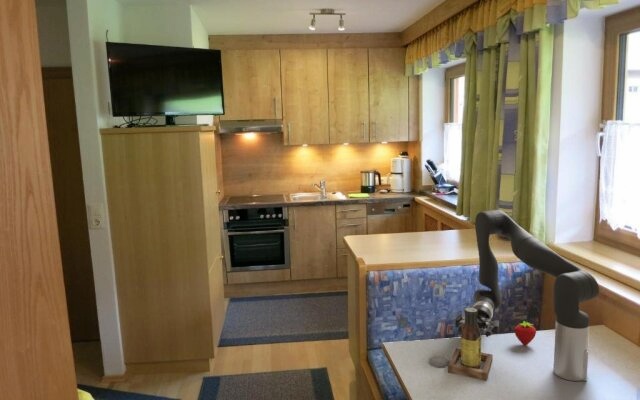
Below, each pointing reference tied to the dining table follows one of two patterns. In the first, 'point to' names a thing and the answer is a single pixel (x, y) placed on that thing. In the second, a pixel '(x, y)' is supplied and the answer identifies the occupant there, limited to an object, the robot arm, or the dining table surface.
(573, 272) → the robot arm
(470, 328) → the sauce bottle
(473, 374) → the pocket frame
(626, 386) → the dining table surface
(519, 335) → the strawberry
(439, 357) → the coaster
